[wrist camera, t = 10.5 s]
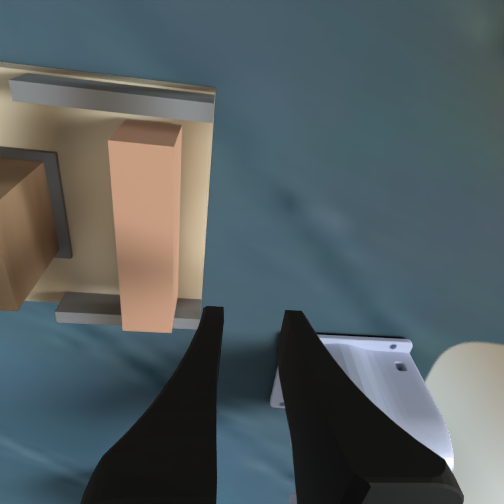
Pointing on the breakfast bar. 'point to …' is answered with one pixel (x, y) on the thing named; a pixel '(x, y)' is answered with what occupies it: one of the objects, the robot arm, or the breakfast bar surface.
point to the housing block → (24, 229)
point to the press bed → (103, 178)
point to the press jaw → (147, 221)
